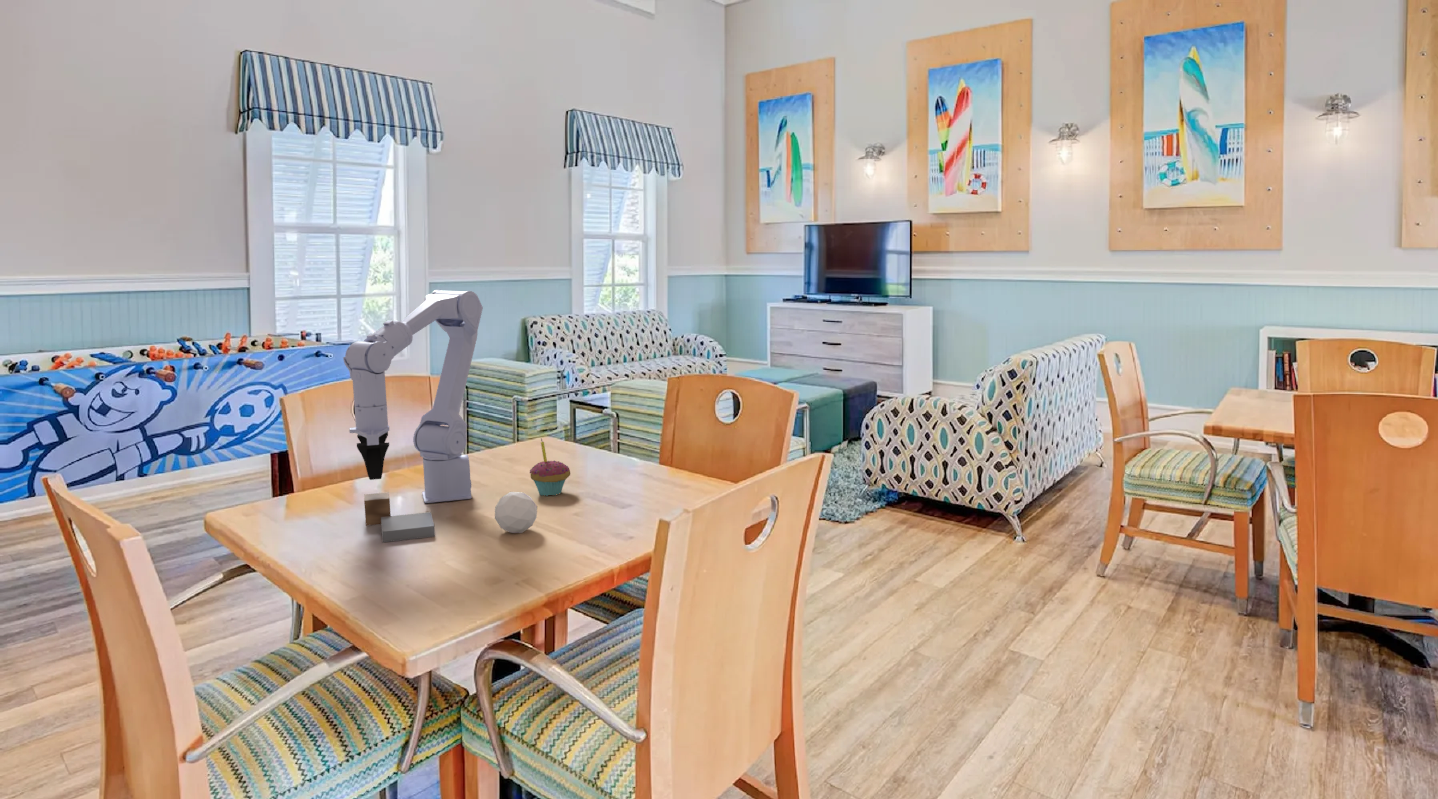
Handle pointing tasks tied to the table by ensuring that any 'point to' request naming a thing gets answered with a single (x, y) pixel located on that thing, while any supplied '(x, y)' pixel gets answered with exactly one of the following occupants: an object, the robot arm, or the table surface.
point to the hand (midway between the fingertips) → (375, 474)
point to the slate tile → (407, 527)
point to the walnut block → (376, 507)
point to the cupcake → (549, 475)
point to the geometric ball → (515, 512)
